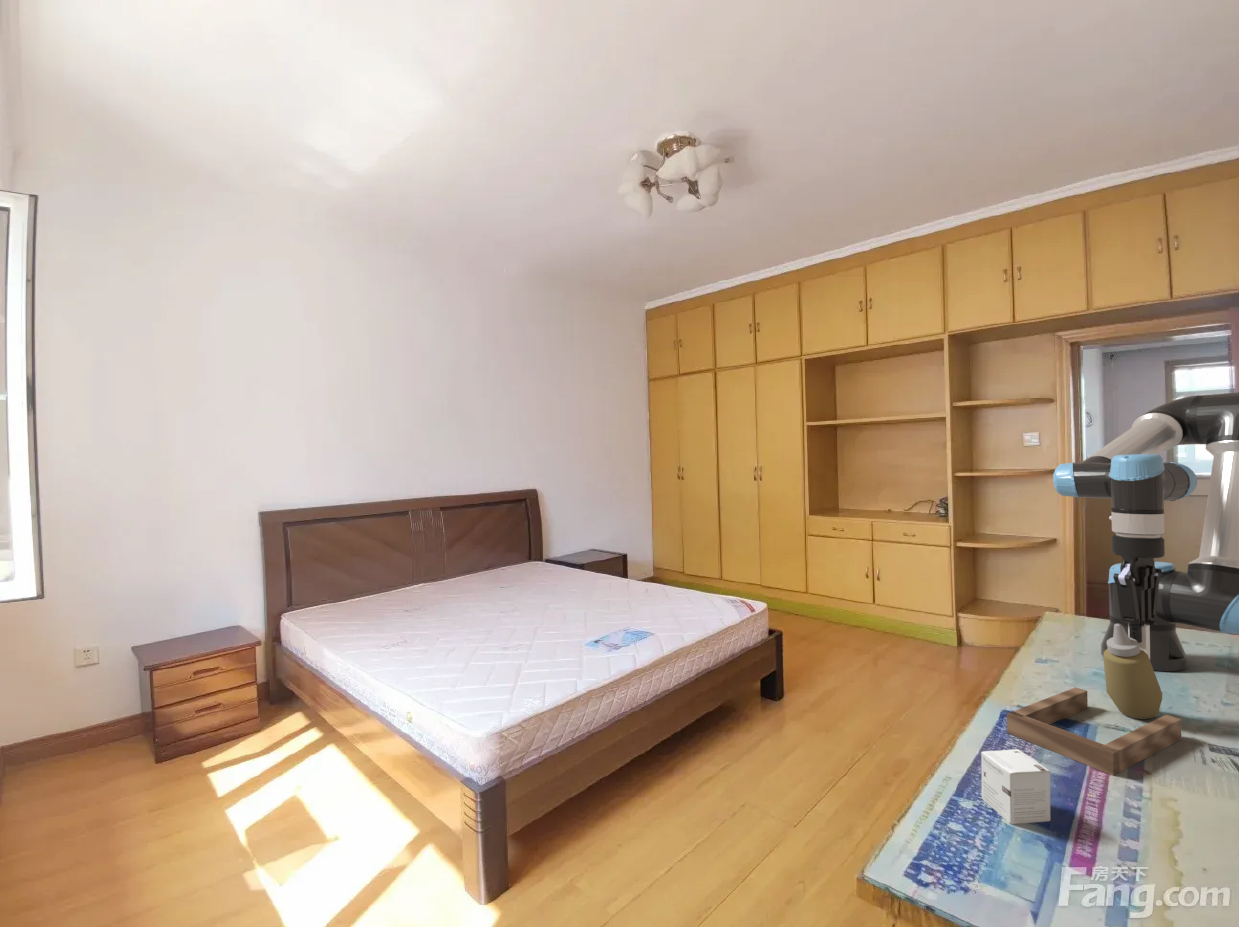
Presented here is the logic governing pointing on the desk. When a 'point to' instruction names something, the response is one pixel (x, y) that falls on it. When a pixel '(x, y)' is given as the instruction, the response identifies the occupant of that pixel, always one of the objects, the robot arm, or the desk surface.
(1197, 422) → the robot arm
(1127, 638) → the squeeze bottle
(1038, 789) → the skincare box
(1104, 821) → the desk surface
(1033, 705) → the bottle rest
